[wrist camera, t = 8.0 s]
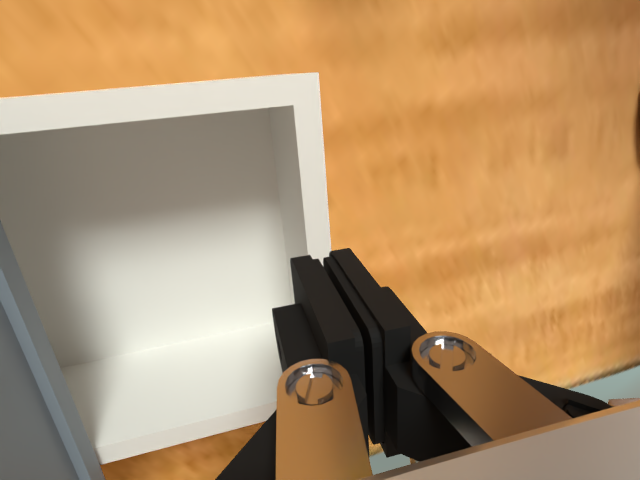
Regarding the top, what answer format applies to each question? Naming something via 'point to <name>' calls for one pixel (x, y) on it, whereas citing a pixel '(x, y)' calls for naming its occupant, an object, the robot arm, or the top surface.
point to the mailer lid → (35, 393)
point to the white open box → (165, 245)
